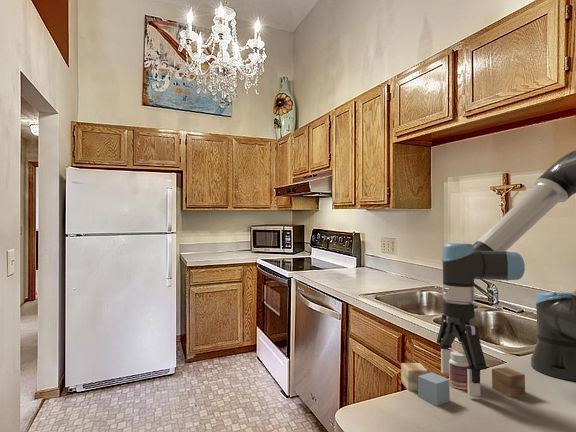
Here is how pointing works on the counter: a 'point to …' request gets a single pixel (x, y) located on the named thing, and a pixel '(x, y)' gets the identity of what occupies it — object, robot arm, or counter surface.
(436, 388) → the slate blue cube
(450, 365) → the pill bottle
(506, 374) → the walnut cube
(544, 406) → the counter surface
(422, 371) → the maple cube
